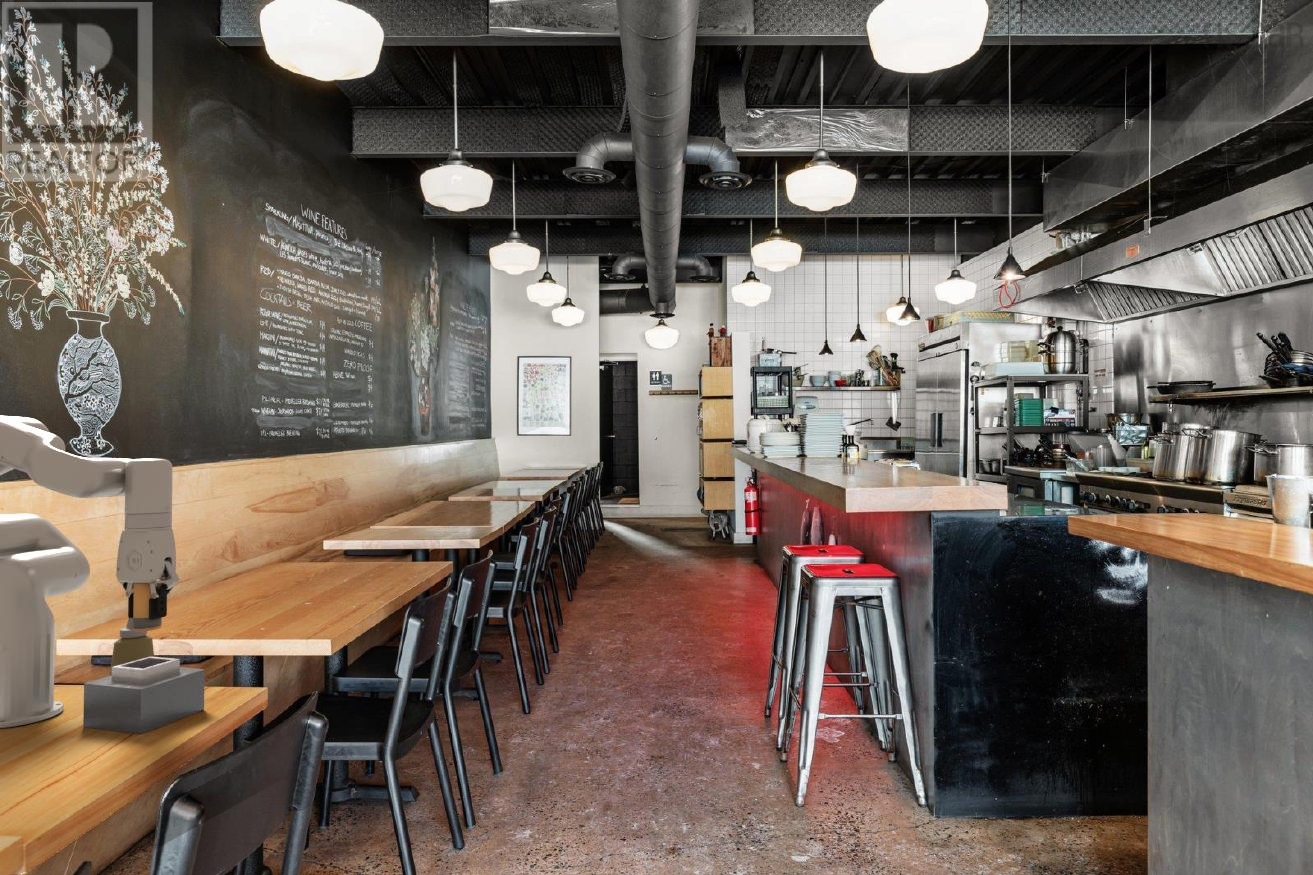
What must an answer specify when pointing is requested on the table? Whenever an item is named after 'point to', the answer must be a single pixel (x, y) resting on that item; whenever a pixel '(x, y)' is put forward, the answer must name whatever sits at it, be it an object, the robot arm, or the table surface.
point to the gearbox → (143, 696)
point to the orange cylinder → (143, 609)
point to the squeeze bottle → (131, 646)
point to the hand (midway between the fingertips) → (147, 616)
